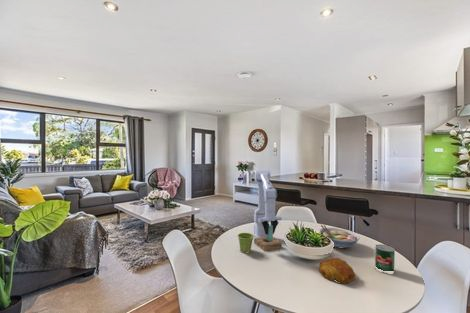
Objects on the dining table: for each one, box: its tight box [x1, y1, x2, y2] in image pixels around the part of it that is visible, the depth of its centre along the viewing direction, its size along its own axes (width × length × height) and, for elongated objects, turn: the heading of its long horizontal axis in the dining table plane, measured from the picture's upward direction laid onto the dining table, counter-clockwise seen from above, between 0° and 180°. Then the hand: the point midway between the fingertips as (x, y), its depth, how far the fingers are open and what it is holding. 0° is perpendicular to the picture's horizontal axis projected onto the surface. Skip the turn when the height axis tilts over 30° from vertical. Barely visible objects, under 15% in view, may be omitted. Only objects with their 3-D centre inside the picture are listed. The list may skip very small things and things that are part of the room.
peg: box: [266, 224, 274, 241], centre depth 129 cm, size 4×4×8 cm
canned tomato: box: [374, 244, 396, 272], centre depth 110 cm, size 8×8×11 cm
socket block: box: [253, 237, 282, 252], centre depth 137 cm, size 12×12×3 cm
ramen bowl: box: [318, 224, 361, 248], centre depth 139 cm, size 25×23×8 cm
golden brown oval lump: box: [318, 257, 356, 284], centre depth 105 cm, size 14×16×8 cm
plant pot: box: [237, 232, 255, 254], centre depth 130 cm, size 9×9×9 cm
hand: (269, 233), depth 129 cm, fingers closed on peg, 4 cm apart
